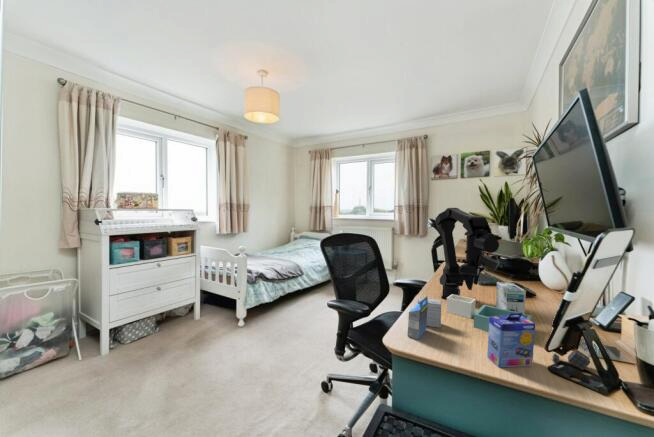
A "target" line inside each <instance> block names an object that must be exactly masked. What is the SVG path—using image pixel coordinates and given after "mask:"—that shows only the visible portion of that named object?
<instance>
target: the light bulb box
mask: <svg viewBox="0 0 654 437" xmlns="http://www.w3.org/2000/svg"><path fill="white" fill-rule="evenodd" d="M526 294H527V290H526V289H524V288H523V287H520V286H519V285H516V284H515V283H513V282H502V281H497V282H496V294H495V295H496V299H495V300H496V301H495V307H497V308H501V309H505V310H510V311H514V312H518V313H523V314H526V299H527V298H526V297H527V296H526Z"/></svg>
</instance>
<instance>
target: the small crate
mask: <svg viewBox="0 0 654 437" xmlns="http://www.w3.org/2000/svg"><path fill="white" fill-rule="evenodd" d="M476 301H477V300H476V298H471V297H467V296H462V295H460V296H458V295H454V294H451V295H450V296H449V297H447V299H446V309H445V311H446V313H450V314H453V315H457V316H460V317H463V318H464V317H465V318H468V319H472V318H474V314H475V313H476Z"/></svg>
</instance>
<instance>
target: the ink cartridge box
mask: <svg viewBox="0 0 654 437" xmlns="http://www.w3.org/2000/svg"><path fill="white" fill-rule="evenodd" d="M522 314H523V313H510V314H509V315H508V316H503V315H501V316H489V332H488V340H487V358H488V359H490V360H491V362H493V363H494V365H496V366H497V367H498V368H517V367H518V368H519V367H520V368H521V367H522V368H525V367H528V368H529V367H532V366H533V360H534V359H533V357H534V346H535V345H534V344H535V335H536V323H535V322H533V321H530V320H529V319H527V318H525V317H523V316H522Z"/></svg>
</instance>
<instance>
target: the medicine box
mask: <svg viewBox="0 0 654 437" xmlns="http://www.w3.org/2000/svg"><path fill="white" fill-rule="evenodd" d="M424 298H425V297H423V298H422V297H418V298H417V304H419V302H420V301H422V300H423V299H424ZM423 303H425V302H423ZM426 327H433V328H441V327H442V301H441V299H440V300H439V299H432V298H431V299H430V298H428V305H427V322H426Z"/></svg>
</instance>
